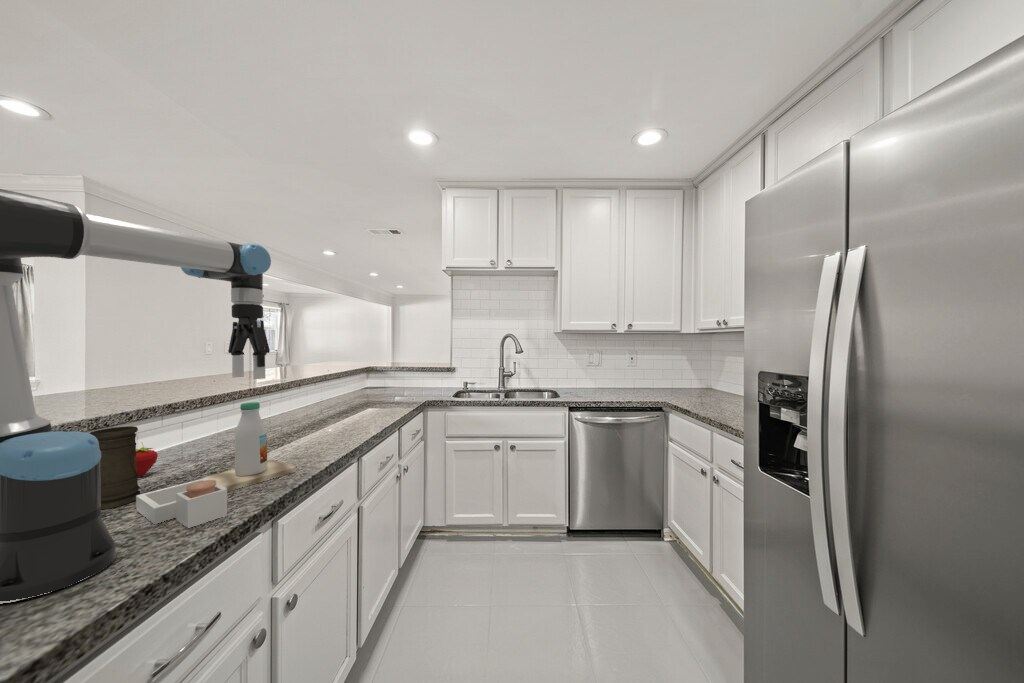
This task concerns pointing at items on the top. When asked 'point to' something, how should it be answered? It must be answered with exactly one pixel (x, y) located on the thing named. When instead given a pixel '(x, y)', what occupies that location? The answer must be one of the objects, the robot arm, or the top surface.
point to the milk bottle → (250, 442)
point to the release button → (201, 488)
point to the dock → (183, 505)
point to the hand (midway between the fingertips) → (248, 378)
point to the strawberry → (145, 460)
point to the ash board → (251, 476)
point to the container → (117, 466)
